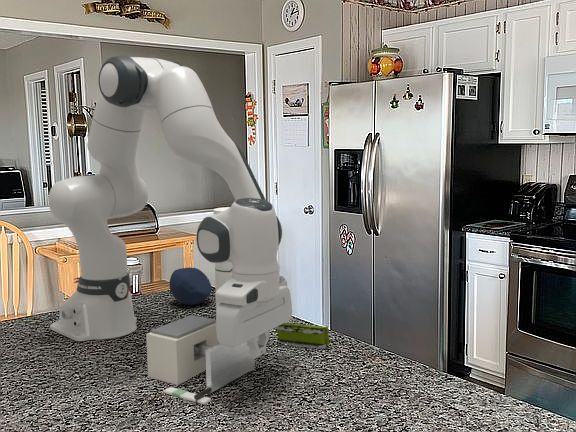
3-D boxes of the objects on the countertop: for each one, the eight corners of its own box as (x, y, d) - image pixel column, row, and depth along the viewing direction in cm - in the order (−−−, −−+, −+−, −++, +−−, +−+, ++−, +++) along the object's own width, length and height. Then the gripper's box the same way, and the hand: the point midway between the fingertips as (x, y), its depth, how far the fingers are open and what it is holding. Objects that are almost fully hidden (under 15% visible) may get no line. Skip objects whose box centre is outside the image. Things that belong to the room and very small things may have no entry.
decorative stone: (163, 309, 172) (162, 274, 171) (178, 297, 184) (177, 265, 182) (204, 310, 170) (203, 275, 169) (216, 299, 182) (215, 266, 181)
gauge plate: (152, 387, 118) (150, 347, 117) (212, 358, 133) (211, 322, 132) (196, 401, 112) (195, 358, 111) (254, 368, 127) (254, 331, 126)
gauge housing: (133, 383, 121) (131, 336, 120) (193, 355, 136) (192, 313, 135) (204, 404, 112) (202, 353, 110) (260, 371, 127) (259, 326, 125)
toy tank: (322, 331, 135) (335, 310, 144) (244, 324, 142) (260, 303, 151) (325, 359, 138) (337, 336, 146) (247, 350, 144) (263, 329, 153)
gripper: (272, 272, 126) (274, 337, 128) (208, 295, 109) (211, 369, 111) (299, 275, 123) (300, 342, 125) (237, 299, 106) (239, 376, 108)
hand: (258, 355), depth 118 cm, fingers closed
